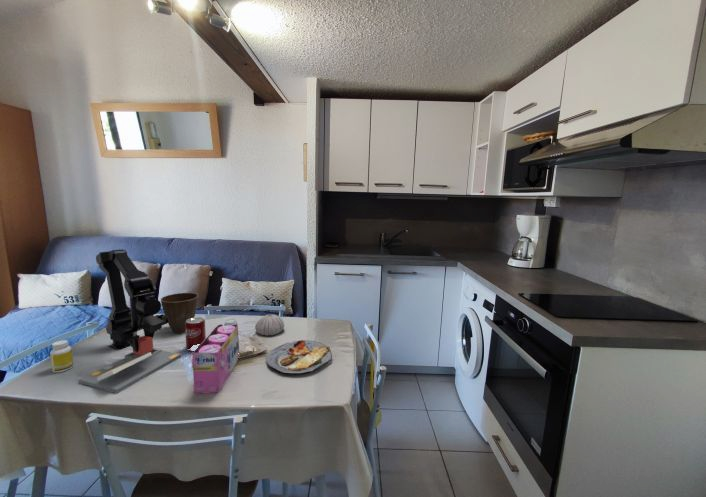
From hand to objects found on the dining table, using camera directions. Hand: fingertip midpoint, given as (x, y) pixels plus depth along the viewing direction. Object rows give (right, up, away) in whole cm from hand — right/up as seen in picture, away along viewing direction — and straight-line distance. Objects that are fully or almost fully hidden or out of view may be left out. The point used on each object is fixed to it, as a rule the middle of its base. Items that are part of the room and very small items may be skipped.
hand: (142, 348), depth 114 cm
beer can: (+30, -4, +10) cm, 31 cm away
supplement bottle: (-23, -5, -8) cm, 24 cm away
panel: (+2, -5, -7) cm, 8 cm away
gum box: (+32, -6, -8) cm, 34 cm away
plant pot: (-1, 0, +27) cm, 27 cm away
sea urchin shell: (+40, -2, +29) cm, 49 cm away
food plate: (+59, -6, +4) cm, 59 cm away
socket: (0, -3, 0) cm, 3 cm away
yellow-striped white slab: (+3, -1, -13) cm, 13 cm away
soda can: (+15, -3, +10) cm, 18 cm away
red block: (0, -1, 0) cm, 1 cm away
